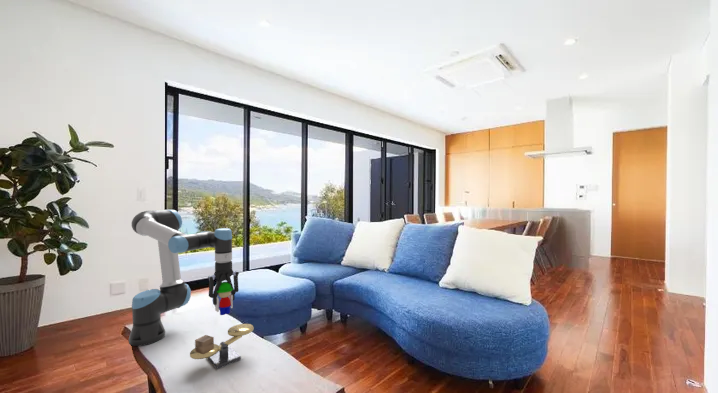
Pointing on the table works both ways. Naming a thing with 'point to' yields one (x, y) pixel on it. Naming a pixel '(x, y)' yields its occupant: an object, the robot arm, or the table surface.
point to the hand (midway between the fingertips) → (224, 309)
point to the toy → (224, 298)
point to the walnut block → (204, 344)
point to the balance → (225, 348)
